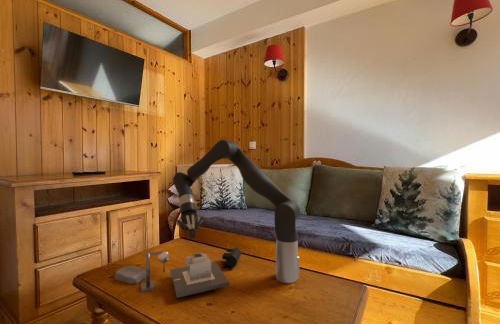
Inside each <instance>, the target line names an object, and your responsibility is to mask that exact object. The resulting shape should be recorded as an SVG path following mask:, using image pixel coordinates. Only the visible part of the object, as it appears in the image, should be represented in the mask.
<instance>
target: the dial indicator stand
mask: <svg viewBox="0 0 500 324" xmlns="http://www.w3.org/2000/svg"><path fill="white" fill-rule="evenodd" d="M154 255H155V256H156V255H158V256H157V258H158V262H159V263H162V264H163V265H162V272H163V273H165V267H166V265H165V263H167V262H168V261H169V260H170V258H171V257H170V256H171V255H170V253H169V252H168V251H166V250H161V251H154V252H153V251H152V252H150V251H146V252H145V269H146V278H145V282H140V283H141V284H140V287H141V288H140V289H141V291H140V292H141V293H145V292H149V291H150V292H151V291H156V284H155V283H156V282H155V280H151V256H154Z"/></svg>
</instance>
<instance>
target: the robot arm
mask: <svg viewBox="0 0 500 324" xmlns="http://www.w3.org/2000/svg"><path fill="white" fill-rule="evenodd" d="M225 159H226V160H229V161H230V162H231V163H232V164H234V165H235V167H236V168H237V169H238V171H239V173H240V175H241V178H242V180H243V181H244V182H245V184H246V185H247V186H248V187H249V188H250V189H251V190H252V191H253V192H255V193H256V194H257V195H260V196H261V197H263V198H264V199H266V200H267V201H269V202H270V203H271V204H272V205H273V206H274V207H275V210H274V233H275V236H276V237H275V238H276V239H275V240H276V241H275V242H276V243H275V245H276V246H275V251H276V252H275V279H276V280H277V281H278V282H281V283H283V284H293V283H296V282H297V281H298V280H300V256H299V255H298V253H299V251H298V250H299V247H298V246H299V245H298V244H299V243H298V242H299V235H298V232H297V231H296V221H297V220H298V219H299V218H300V217H301V209H300V207H299V205H298V203H296V202H295V200H293V199H291V198H290V196H288V195H287V194H285V192H283V191H282V190H281V189H280V188H279V187H278V186H277V185H276V184H275V183H274V182H273V181H272V179H270V178H269V177H268V175H266V173H265V172H263V171H262V169H261V168H260V167H258V166H257V165H256V164H255V163H254V162H253V161H252V160H251V159H250V158H249V157H248V156H247V155H246V154H245V153H244V152H243V150H242V149H241V148H240V146H239V145H238V144H237V143H236V142H235V141H233V140H229V139H220V140H218V141H217V142H216V143H215V144H214V145H213V146H212V147H211V148H210V149H209V150H208V151H207V153H205V154H204V155H203V156H202V157H201V158H200V159H199V160H197V162H195V163H194V164H192V165H191V166H190V167H188V169H186V173H184V172H181V171H180V172H176V173H175V174H174V176H173V177H172V178H173V179H172V180H173V185H174V187H175V190H176V191H177V194H178V199H179V201H178V203H179V205H178V206H179V210H180V211H179V212H180V218H179V219H176V222H175V223H176V224H175V225H177V226H178V227H180V229H182V230H183V231H184V232H188V238H190V239H191V240H192V239H195V238H196V235H197V234H196V230H198V229H199V227H200V226H201V224H202V223H203V221H204V220H203V219H204V217H203V216H201V217H200V216H199V214H198V212H197V211H198V210H197V207H196V202H195V199H194V193H193V189H192V188H191V187H192V186H193V185H194V183H196V181H197V180H198V178H200V177H202V176H203V175H204V174H206V173H207V172H208V171H209V169H210V168H211V166H212V165H214V163H216V162H218V161H219V160H225ZM196 222H197V223H196Z"/></svg>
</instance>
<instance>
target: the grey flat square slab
mask: <svg viewBox="0 0 500 324" xmlns="http://www.w3.org/2000/svg"><path fill="white" fill-rule="evenodd" d="M169 274H170V278H171V281H172V285H173V288H174V292H175V296H176V298H177V299H178V298H182V297H184V296H185V297H187V296H186V295H189V296H192V295H191V294H194V295H196V294H195V293H198V294H200V293H199V292H202V293H205V292H204V291H206V292H209V291H208V290H211V291H213V290H212V289H215V290H218V289H217V288H219V289H221V288H225V287H229V286H230V280H229V279H228V278H227V277H226V275H225V273H224V272H223V271H222V269H221V268H220V266H219V265H218V264H217V262H216V261H211V278H210V279H206V280H201V281H196V282H191V283H190V281H189V279H188V277H187V274H186V266H183V267H177V268H171V269H169Z"/></svg>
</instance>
